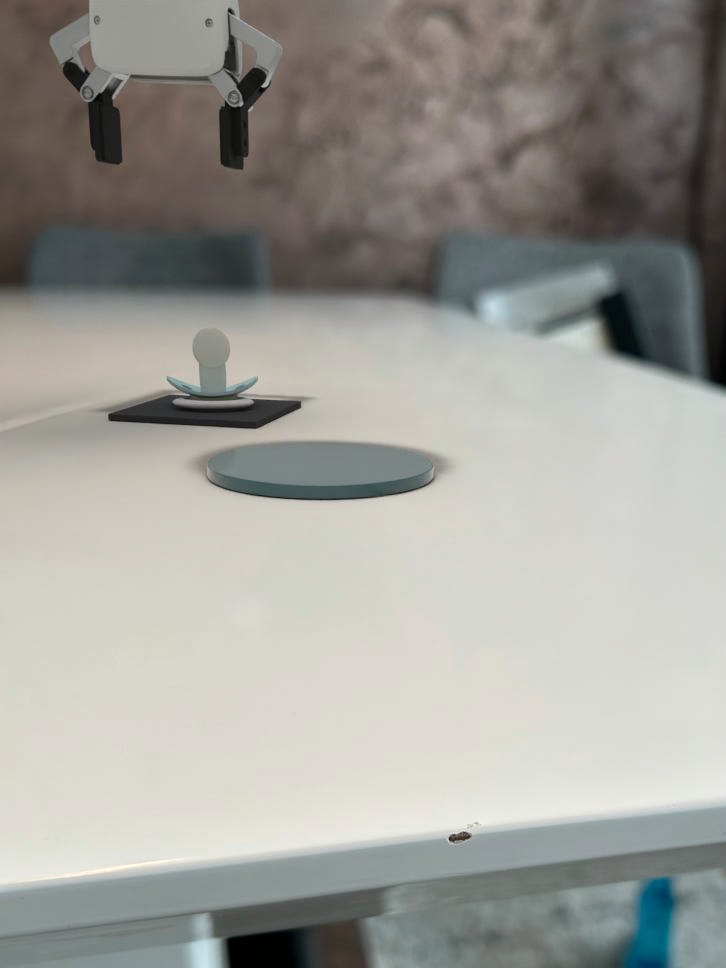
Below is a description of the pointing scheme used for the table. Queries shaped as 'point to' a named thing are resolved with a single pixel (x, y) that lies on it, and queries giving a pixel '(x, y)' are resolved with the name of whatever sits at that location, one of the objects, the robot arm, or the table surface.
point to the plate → (320, 470)
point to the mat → (205, 413)
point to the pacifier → (212, 375)
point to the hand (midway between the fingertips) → (170, 165)
